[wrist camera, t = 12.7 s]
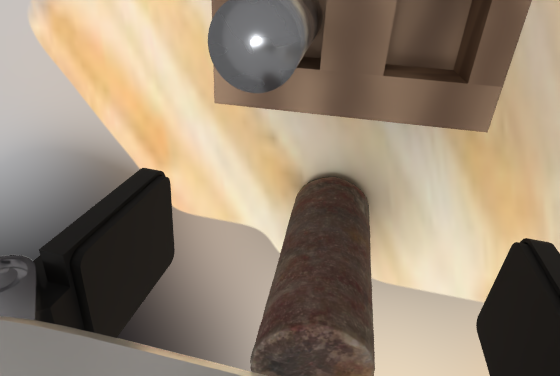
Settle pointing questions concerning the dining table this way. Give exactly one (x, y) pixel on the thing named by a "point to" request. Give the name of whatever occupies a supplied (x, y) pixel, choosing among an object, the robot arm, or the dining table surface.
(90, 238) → the robot arm
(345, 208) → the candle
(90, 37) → the dining table surface
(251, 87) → the pin
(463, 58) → the hole block
